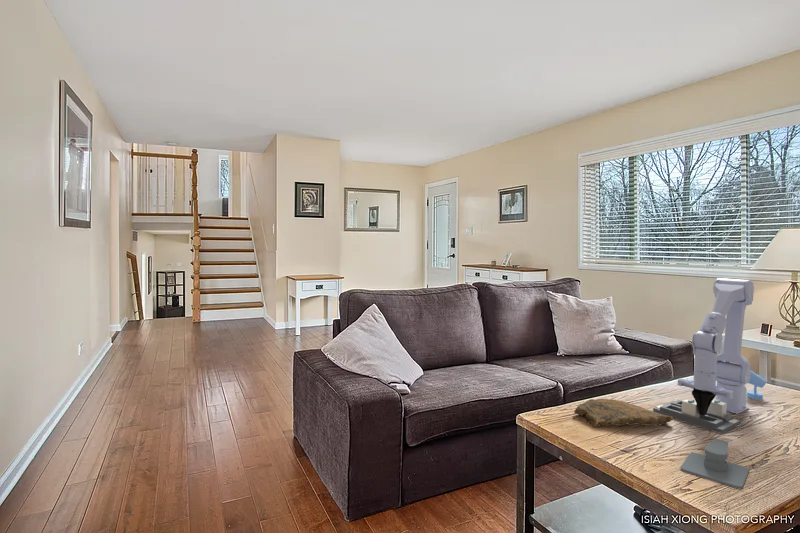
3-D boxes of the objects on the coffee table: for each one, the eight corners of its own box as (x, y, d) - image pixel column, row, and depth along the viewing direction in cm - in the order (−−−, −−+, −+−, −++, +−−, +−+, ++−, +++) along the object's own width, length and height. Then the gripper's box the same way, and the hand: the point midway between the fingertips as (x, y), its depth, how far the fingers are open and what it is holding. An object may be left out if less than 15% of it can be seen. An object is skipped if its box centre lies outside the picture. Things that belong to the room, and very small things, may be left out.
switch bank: (673, 404, 157) (673, 397, 157) (741, 424, 140) (741, 417, 140) (653, 411, 150) (653, 405, 150) (722, 433, 133) (722, 426, 133)
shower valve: (752, 446, 114) (743, 468, 103) (750, 467, 114) (741, 491, 103) (694, 431, 122) (680, 450, 112) (693, 451, 123) (679, 471, 112)
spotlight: (741, 397, 164) (765, 401, 160) (742, 370, 164) (767, 373, 160) (741, 393, 168) (765, 397, 164) (742, 367, 168) (766, 370, 164)
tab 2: (711, 413, 146) (712, 397, 145) (725, 417, 142) (726, 401, 142) (707, 414, 144) (708, 399, 144) (721, 419, 141) (722, 403, 140)
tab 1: (686, 412, 145) (686, 397, 145) (699, 417, 142) (700, 401, 142) (681, 414, 144) (682, 399, 144) (695, 419, 141) (695, 403, 140)
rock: (623, 395, 157) (680, 415, 138) (621, 411, 157) (678, 432, 138) (568, 399, 146) (622, 421, 128) (567, 416, 146) (620, 441, 128)
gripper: (673, 367, 143) (671, 409, 144) (726, 379, 131) (723, 425, 132) (684, 363, 147) (682, 405, 148) (737, 375, 135) (734, 420, 136)
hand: (702, 414), depth 140 cm, fingers closed
